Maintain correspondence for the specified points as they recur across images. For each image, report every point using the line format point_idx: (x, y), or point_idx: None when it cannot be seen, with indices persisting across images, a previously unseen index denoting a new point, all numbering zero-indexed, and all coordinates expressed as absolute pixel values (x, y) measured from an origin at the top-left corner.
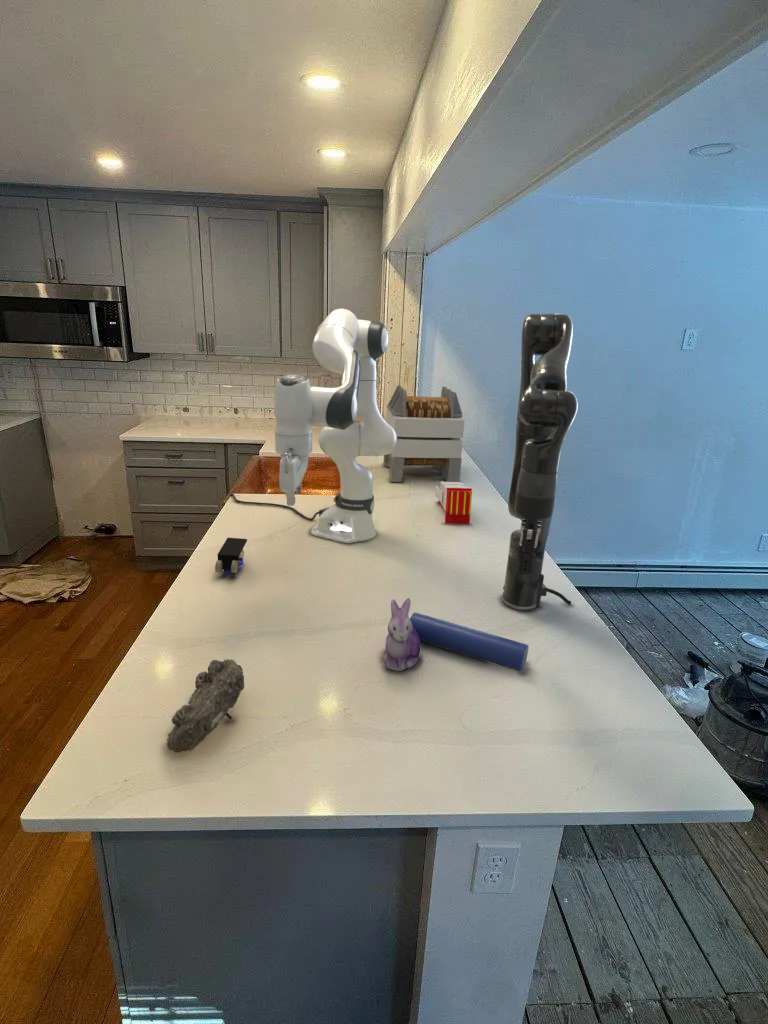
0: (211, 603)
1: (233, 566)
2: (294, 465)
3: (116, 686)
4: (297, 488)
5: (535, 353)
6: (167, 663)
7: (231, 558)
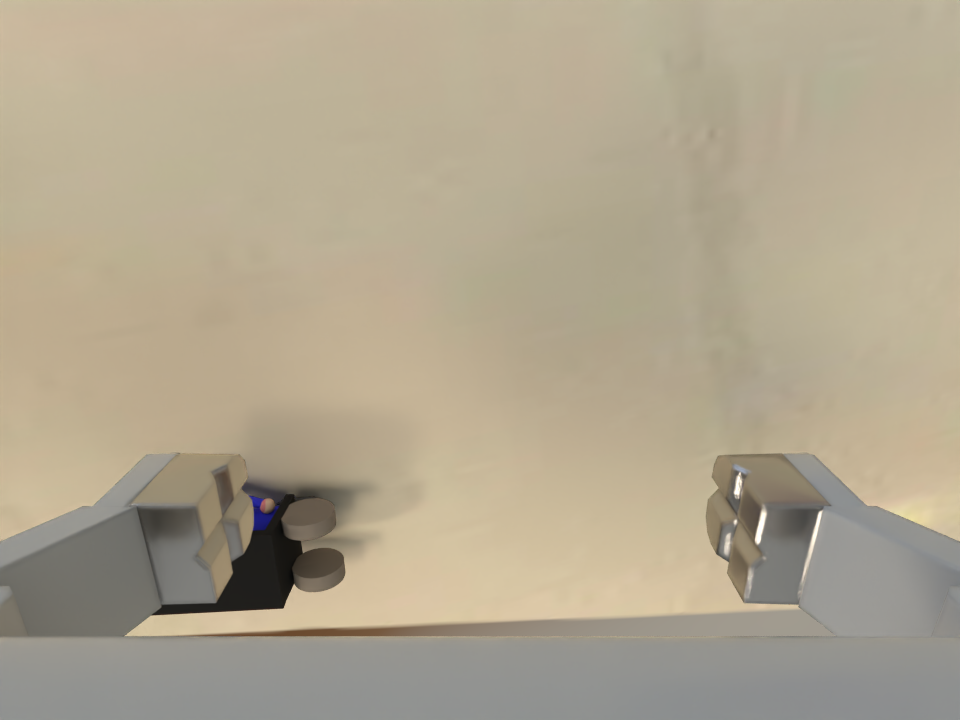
0: (515, 513)
1: (328, 524)
2: None
3: None
4: (211, 533)
5: None
6: None
7: (280, 550)
